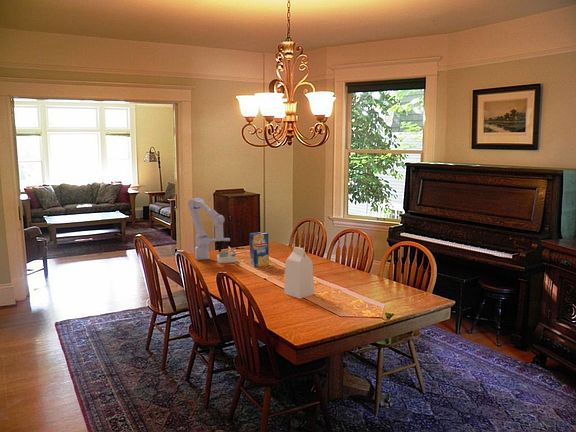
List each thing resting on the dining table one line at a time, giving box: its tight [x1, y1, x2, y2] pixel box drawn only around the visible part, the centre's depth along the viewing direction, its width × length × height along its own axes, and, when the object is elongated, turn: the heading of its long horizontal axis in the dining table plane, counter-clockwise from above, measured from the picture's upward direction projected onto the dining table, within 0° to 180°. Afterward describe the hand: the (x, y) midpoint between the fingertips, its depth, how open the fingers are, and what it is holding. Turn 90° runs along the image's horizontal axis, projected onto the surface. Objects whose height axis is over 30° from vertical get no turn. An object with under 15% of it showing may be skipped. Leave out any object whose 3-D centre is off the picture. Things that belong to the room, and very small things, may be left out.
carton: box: [216, 253, 237, 264], centre depth 338 cm, size 12×9×4 cm
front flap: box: [218, 250, 229, 257], centre depth 330 cm, size 6×6×1 cm
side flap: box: [227, 246, 237, 256], centre depth 338 cm, size 6×8×1 cm
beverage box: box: [249, 231, 270, 268], centre depth 325 cm, size 7×11×22 cm, turn 119°
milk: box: [283, 246, 315, 299], centre depth 262 cm, size 12×12×26 cm
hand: (219, 251), depth 336 cm, fingers closed
